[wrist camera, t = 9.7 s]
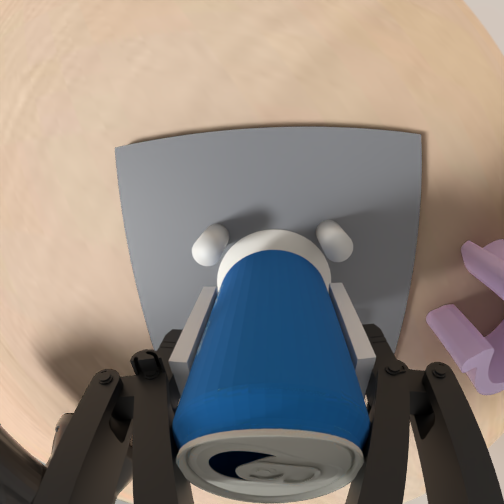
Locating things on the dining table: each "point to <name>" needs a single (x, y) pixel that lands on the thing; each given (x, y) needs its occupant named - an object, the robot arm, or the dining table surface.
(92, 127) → the dining table surface
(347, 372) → the beverage can
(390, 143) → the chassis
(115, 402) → the robot arm
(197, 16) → the dining table surface
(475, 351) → the clip
